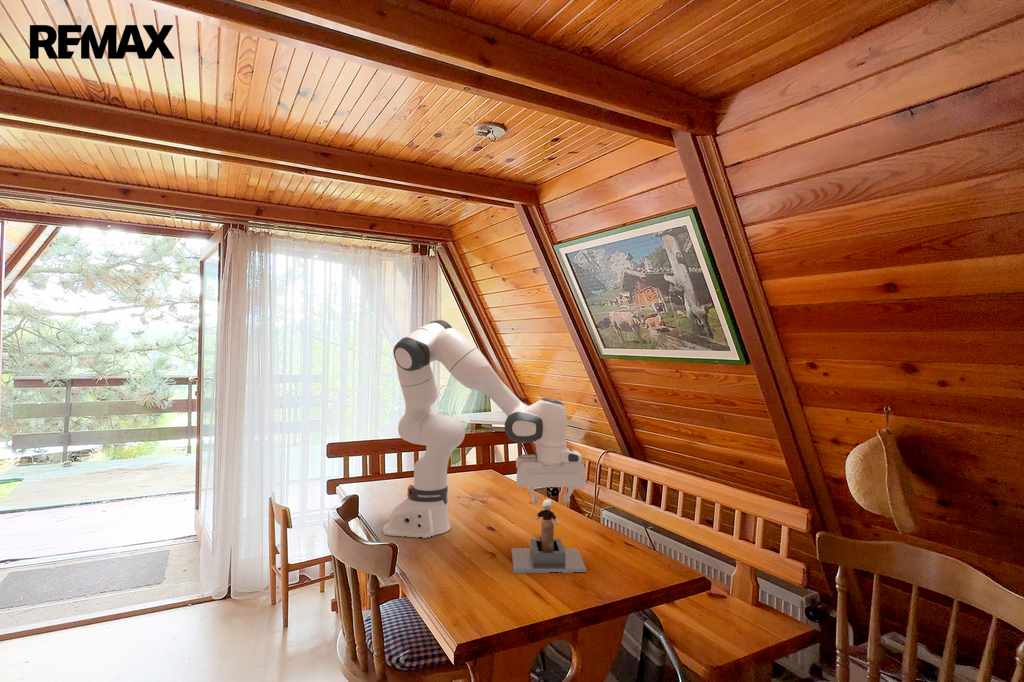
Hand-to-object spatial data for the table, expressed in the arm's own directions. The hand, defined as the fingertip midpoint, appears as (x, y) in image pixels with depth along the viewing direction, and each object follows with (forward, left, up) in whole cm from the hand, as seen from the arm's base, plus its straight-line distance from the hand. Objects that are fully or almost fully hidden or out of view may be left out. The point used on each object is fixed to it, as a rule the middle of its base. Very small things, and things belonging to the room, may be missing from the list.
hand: (550, 501), depth 156 cm
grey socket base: (-1, -1, -17) cm, 17 cm away
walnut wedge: (-1, -1, -16) cm, 16 cm away
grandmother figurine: (+1, +18, -17) cm, 25 cm away
